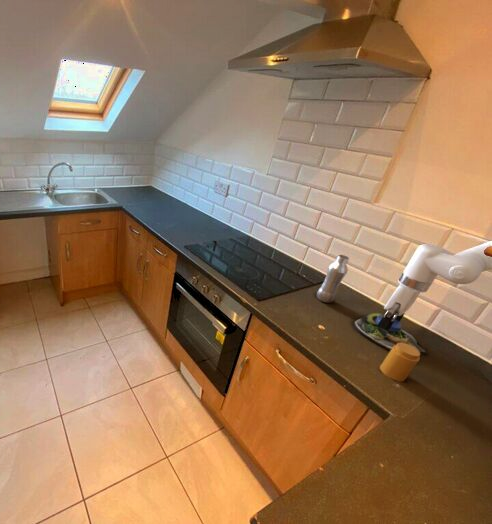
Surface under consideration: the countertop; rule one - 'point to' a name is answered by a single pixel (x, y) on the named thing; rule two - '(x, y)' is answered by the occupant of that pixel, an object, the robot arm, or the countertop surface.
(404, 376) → the jar
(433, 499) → the countertop surface
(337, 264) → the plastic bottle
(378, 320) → the lid
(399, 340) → the salad plate
